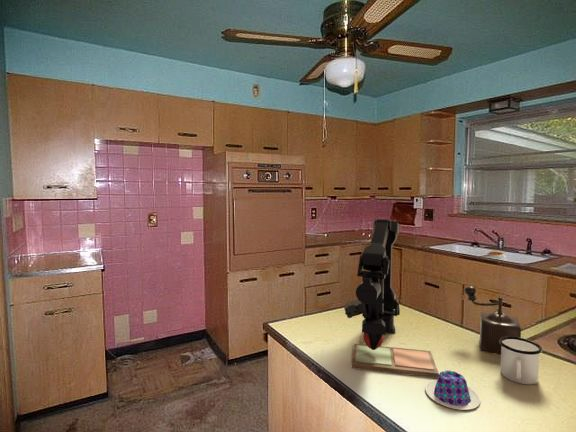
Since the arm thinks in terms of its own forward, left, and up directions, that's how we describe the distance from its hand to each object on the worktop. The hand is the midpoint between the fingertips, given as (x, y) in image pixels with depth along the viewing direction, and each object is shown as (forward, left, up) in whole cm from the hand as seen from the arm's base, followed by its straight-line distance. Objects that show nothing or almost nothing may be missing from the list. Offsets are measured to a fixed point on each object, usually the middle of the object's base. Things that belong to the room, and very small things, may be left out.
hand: (373, 344), depth 99 cm
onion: (0, 0, -2) cm, 2 cm away
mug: (+2, +37, -5) cm, 38 cm away
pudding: (+14, +19, -5) cm, 24 cm away
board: (0, +5, -4) cm, 7 cm away
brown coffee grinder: (-17, +36, -5) cm, 40 cm away
